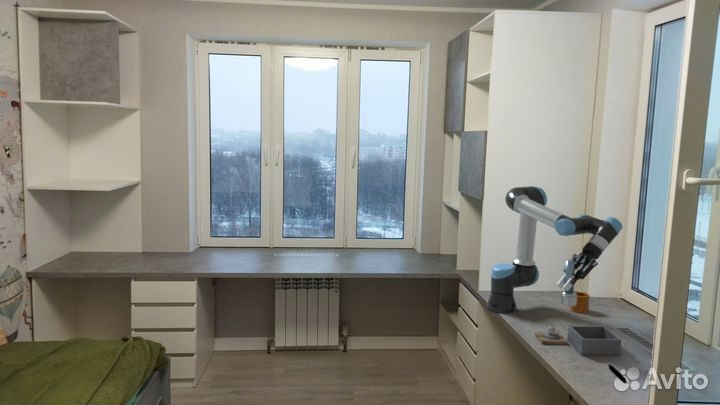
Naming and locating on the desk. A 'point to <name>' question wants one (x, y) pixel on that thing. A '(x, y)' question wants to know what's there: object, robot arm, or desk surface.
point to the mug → (581, 303)
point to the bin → (594, 341)
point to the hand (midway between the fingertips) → (562, 287)
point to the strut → (570, 296)
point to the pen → (617, 373)
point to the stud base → (551, 337)
